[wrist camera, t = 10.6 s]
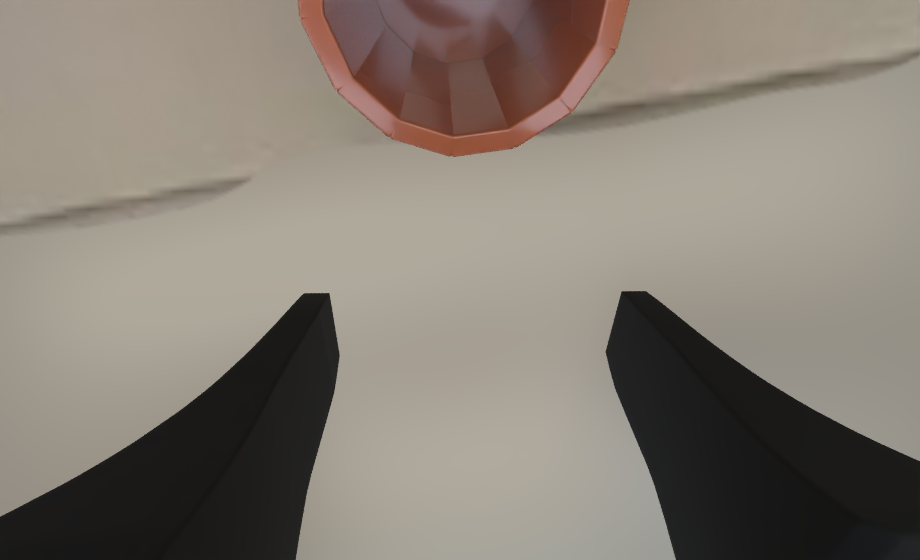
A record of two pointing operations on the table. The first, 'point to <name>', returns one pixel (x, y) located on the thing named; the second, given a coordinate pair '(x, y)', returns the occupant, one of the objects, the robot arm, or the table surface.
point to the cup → (463, 64)
